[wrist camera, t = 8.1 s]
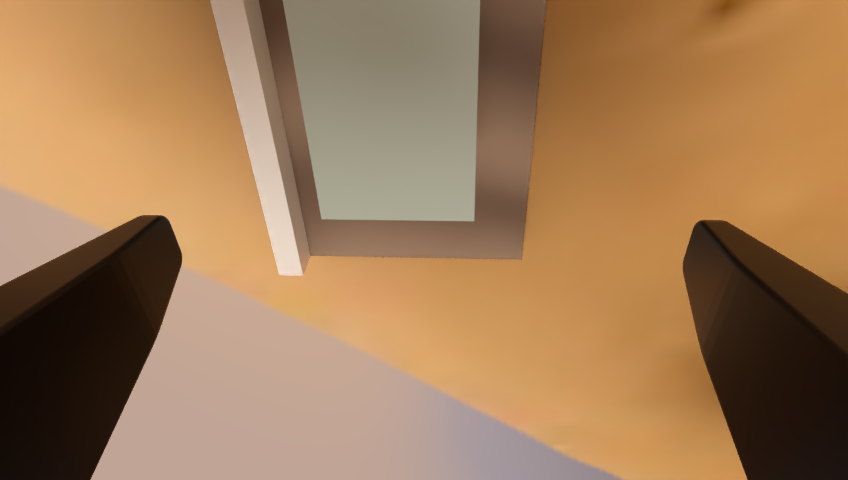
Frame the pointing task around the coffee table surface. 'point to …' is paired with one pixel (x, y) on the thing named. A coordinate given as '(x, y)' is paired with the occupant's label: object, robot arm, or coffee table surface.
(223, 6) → the rail
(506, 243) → the shelf board
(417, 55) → the tea tin
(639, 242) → the coffee table surface
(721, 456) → the coffee table surface
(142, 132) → the coffee table surface
